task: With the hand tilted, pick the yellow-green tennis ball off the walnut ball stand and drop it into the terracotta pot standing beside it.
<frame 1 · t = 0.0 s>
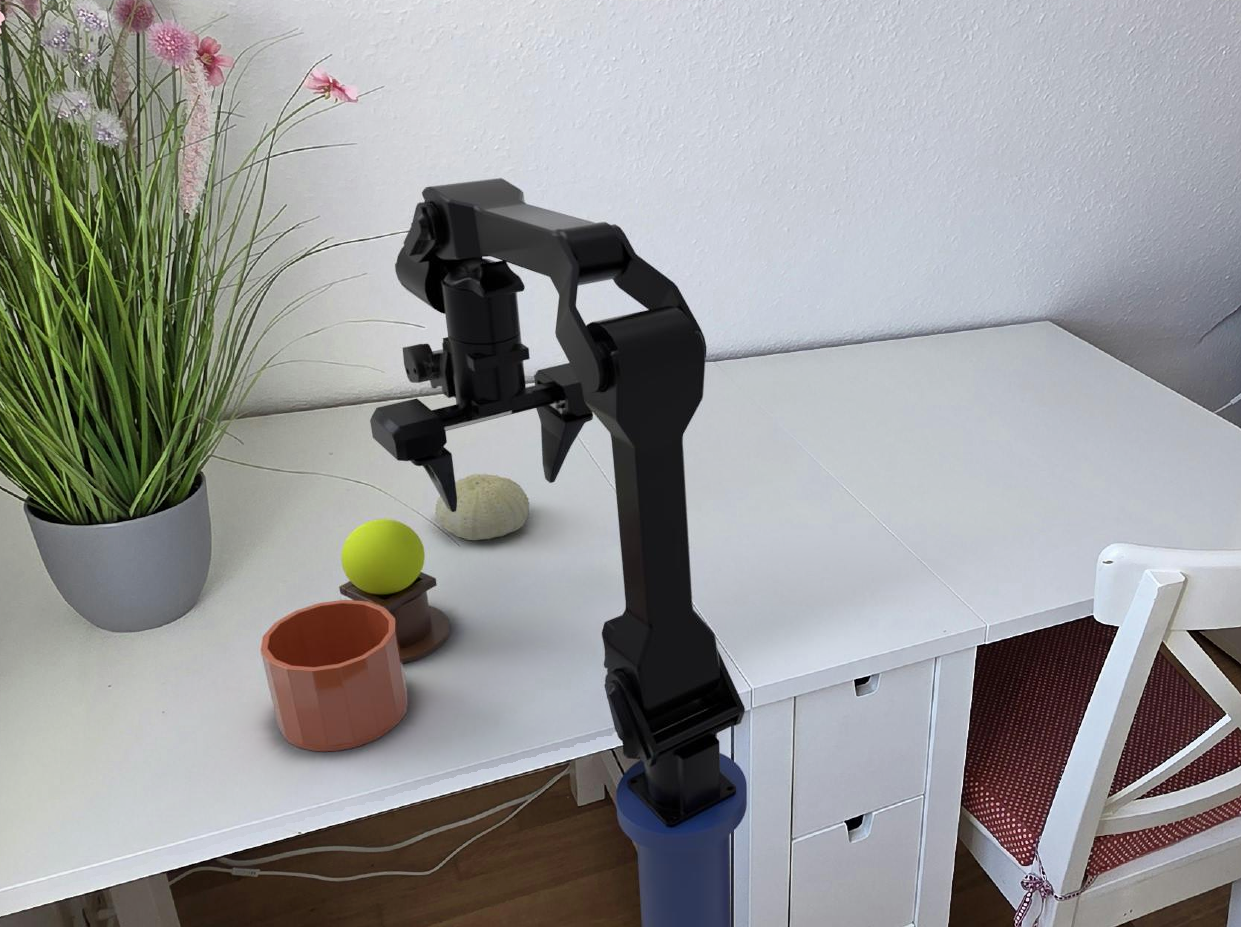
hand: (502, 495, 110), 13 cm above the table, tool pointing down, fingers open, 9 cm apart
ball stand: (396, 636, 111), on the table
tennis ball: (383, 556, 107), point 8 cm above the table, touching ball stand
terracotta pot: (345, 713, 101), on the table
sea urchin shell: (485, 525, 129), on the table
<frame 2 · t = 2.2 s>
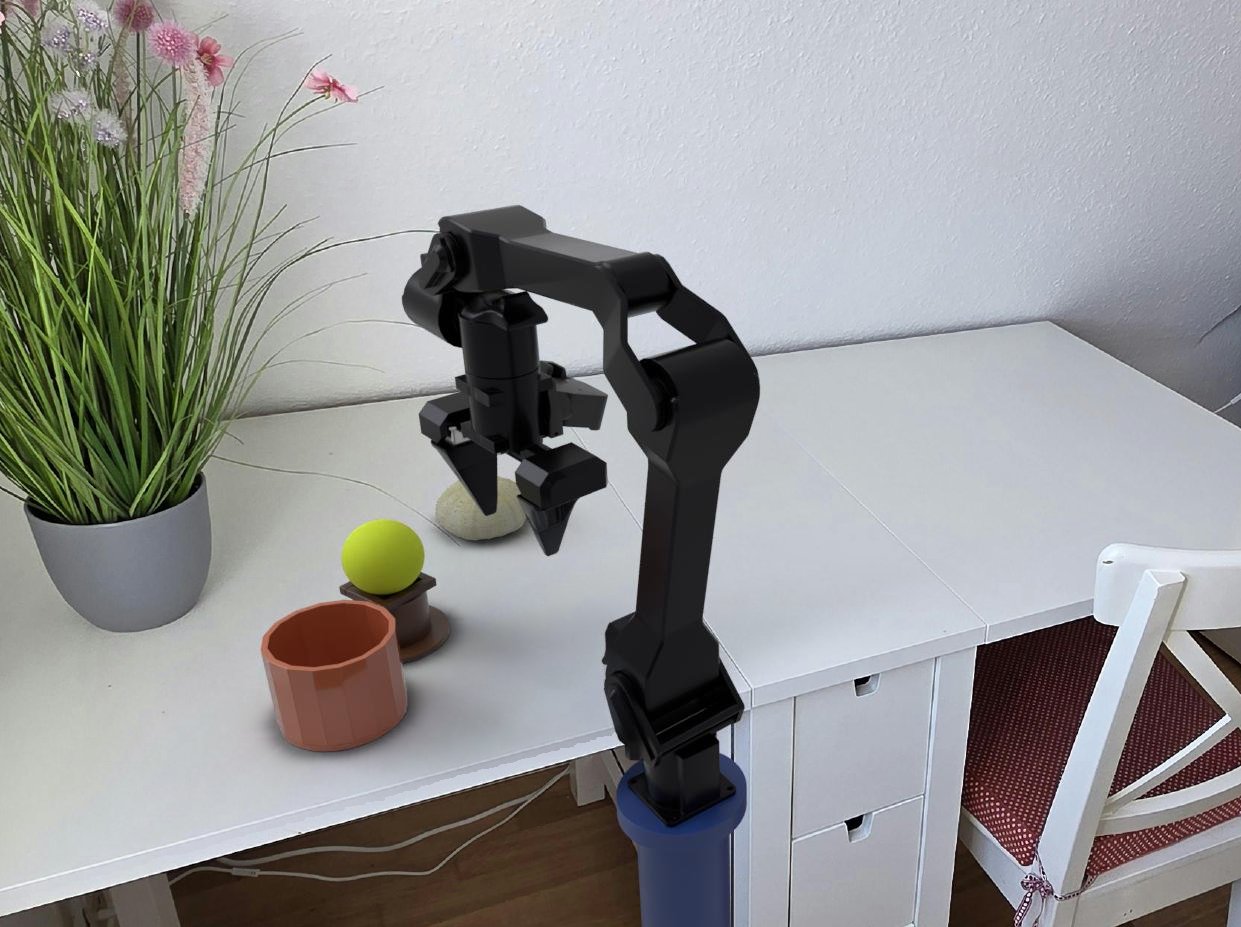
hand: (520, 533, 105), 12 cm above the table, tool pointing down, fingers open, 9 cm apart
nothing on the table moved.
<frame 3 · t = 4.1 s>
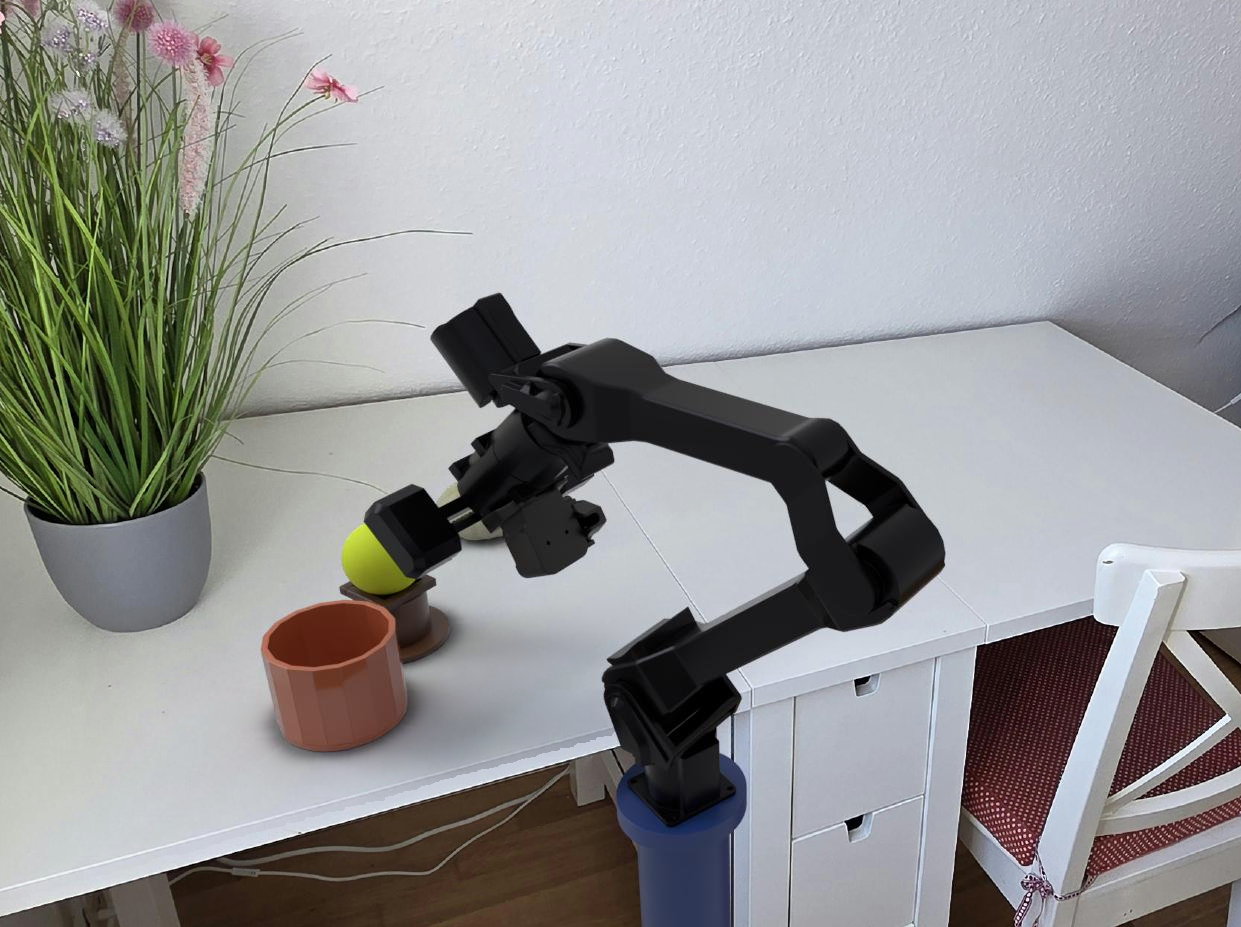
hand: (444, 536, 102), 13 cm above the table, tool tilted 45°, fingers open, 9 cm apart
nothing on the table moved.
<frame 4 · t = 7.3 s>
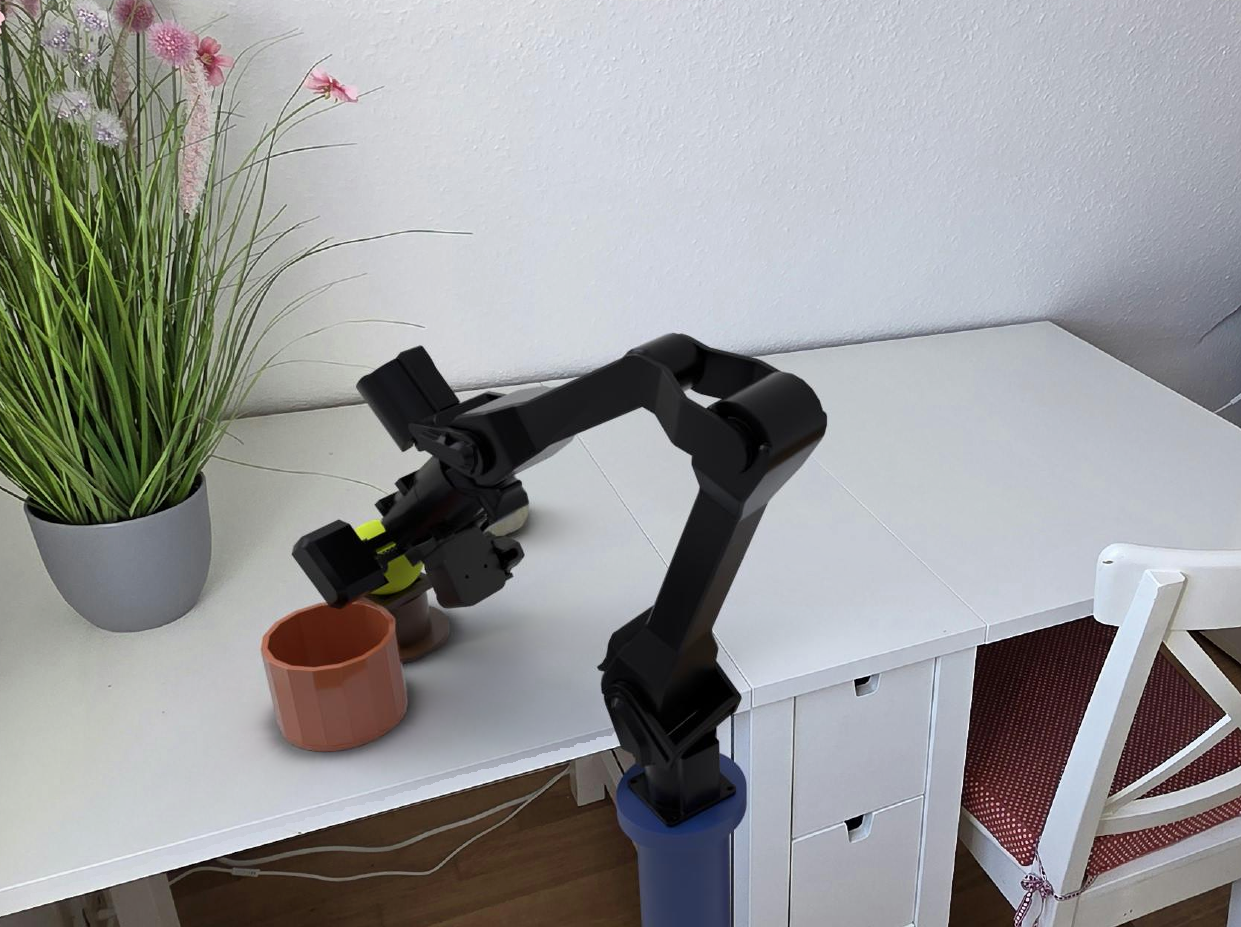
hand: (374, 564, 108), 7 cm above the table, tool tilted 45°, fingers closed on tennis ball, 6 cm apart
tennis ball: (383, 556, 107), point 8 cm above the table, touching ball stand, gripper
everything else where it was.
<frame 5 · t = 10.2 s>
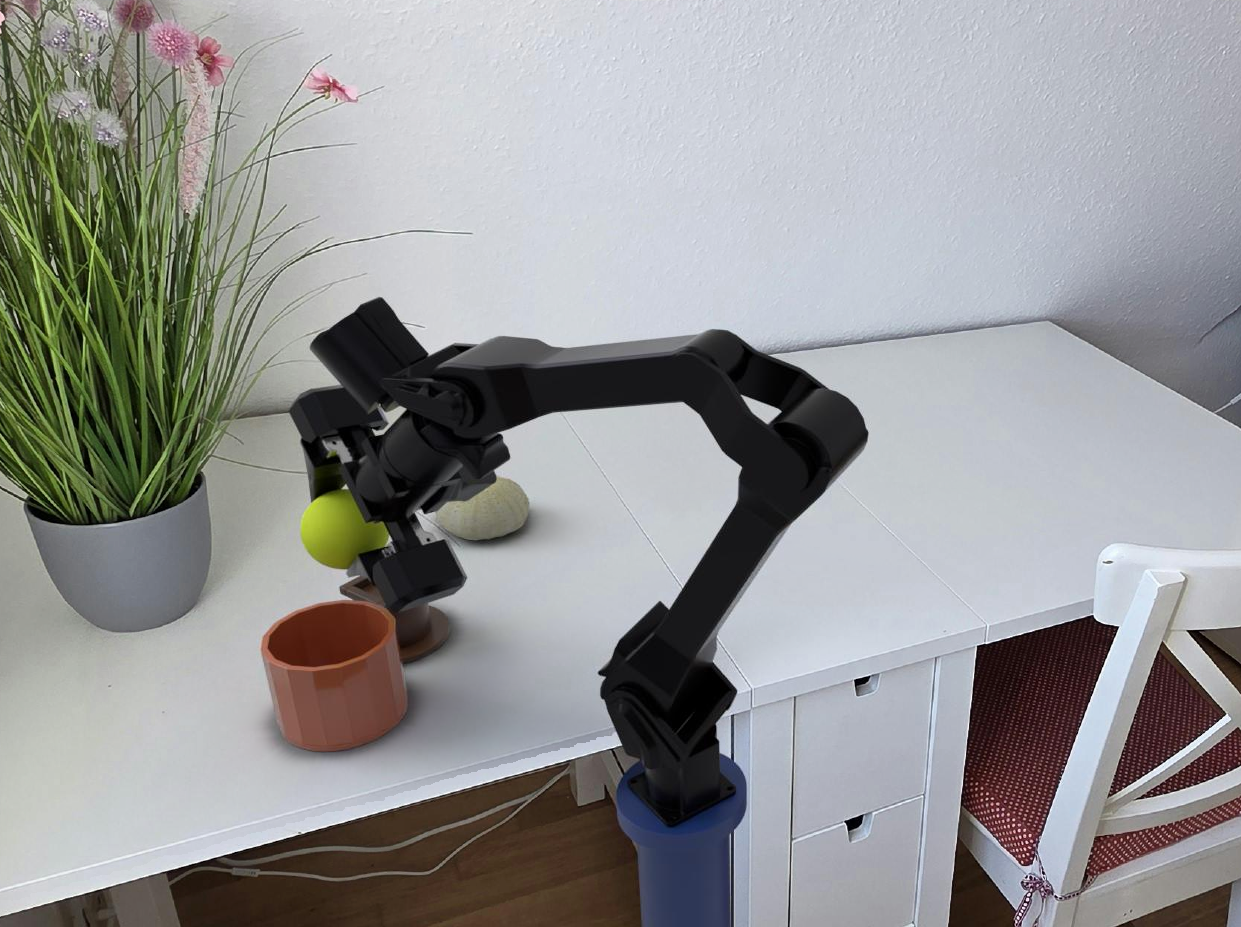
hand: (335, 539, 101), 12 cm above the table, tool tilted 45°, fingers closed on tennis ball, 6 cm apart
tennis ball: (345, 529, 100), point 14 cm above the table, tilted 52°, touching gripper
everything else where it was.
when the fingers open (9 cm above the table, at t = 13.5 s): tennis ball drops 6 cm, resting on terracotta pot.
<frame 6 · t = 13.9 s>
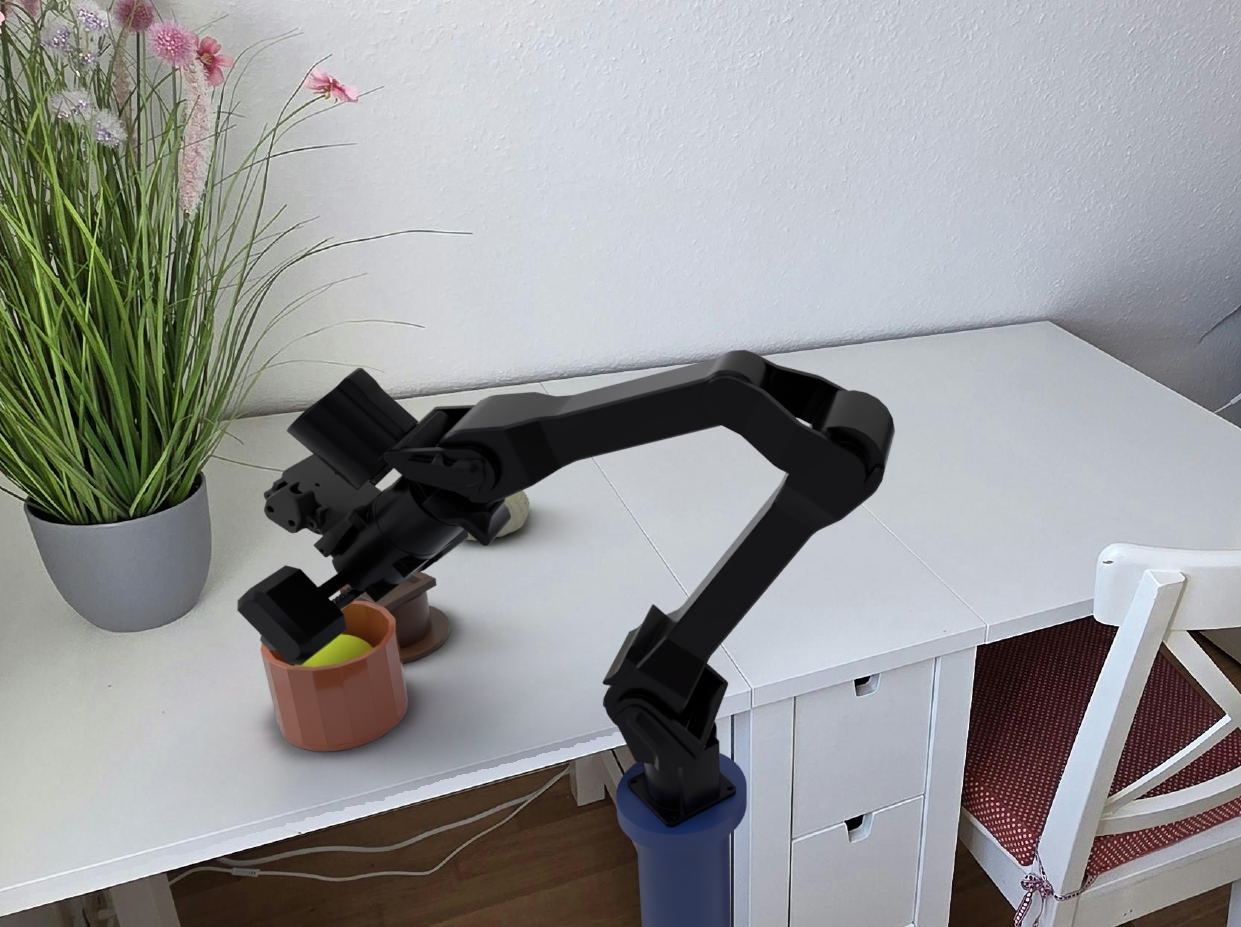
hand: (310, 612, 97), 10 cm above the table, tool tilted 45°, fingers open, 9 cm apart
tennis ball: (338, 675, 99), point 4 cm above the table, tilted 92°, touching terracotta pot
everything else where it was.
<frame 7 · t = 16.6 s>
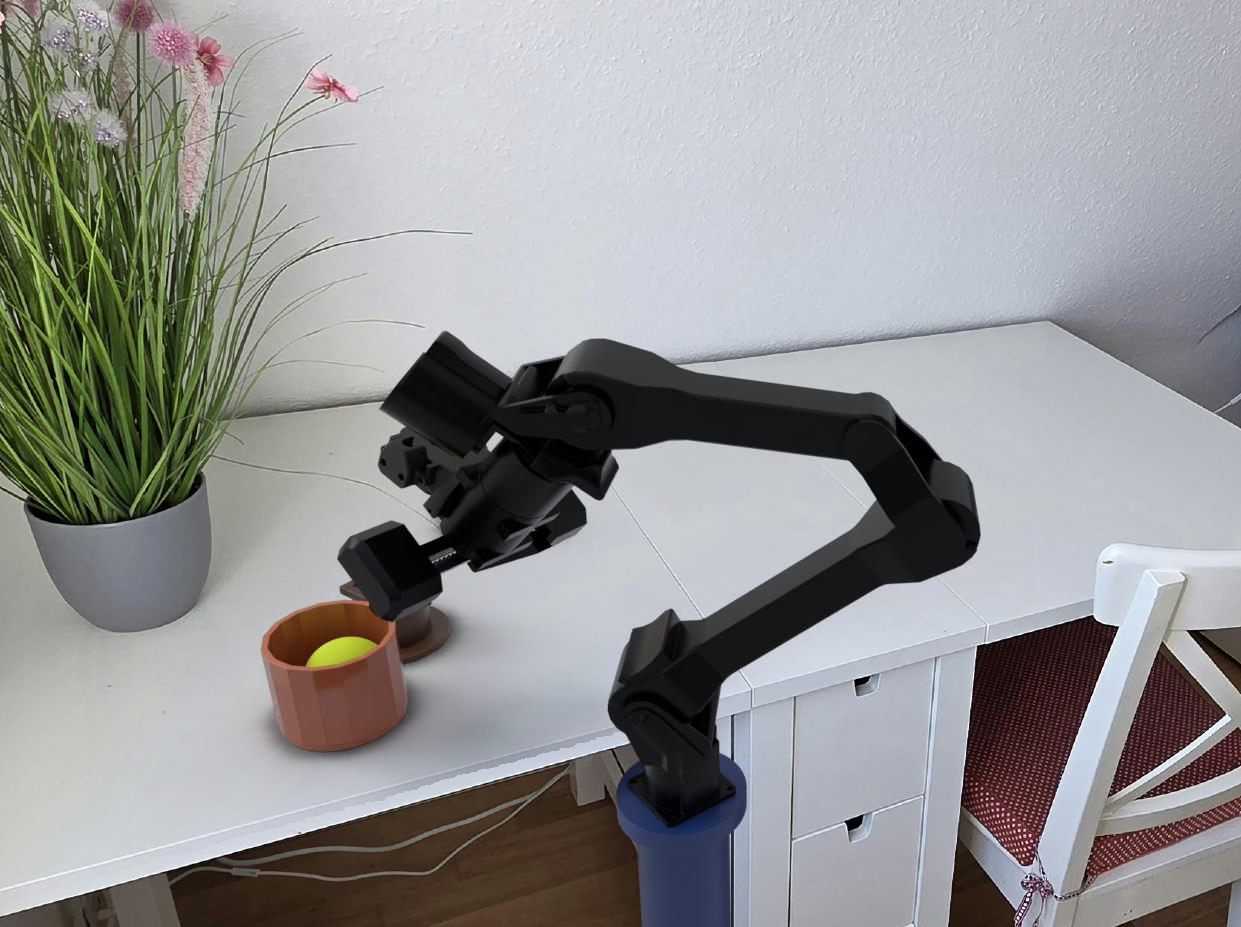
hand: (424, 588, 95), 13 cm above the table, tool tilted 40°, fingers open, 9 cm apart
tennis ball: (348, 677, 99), point 4 cm above the table, tilted 109°, touching terracotta pot
everything else where it was.
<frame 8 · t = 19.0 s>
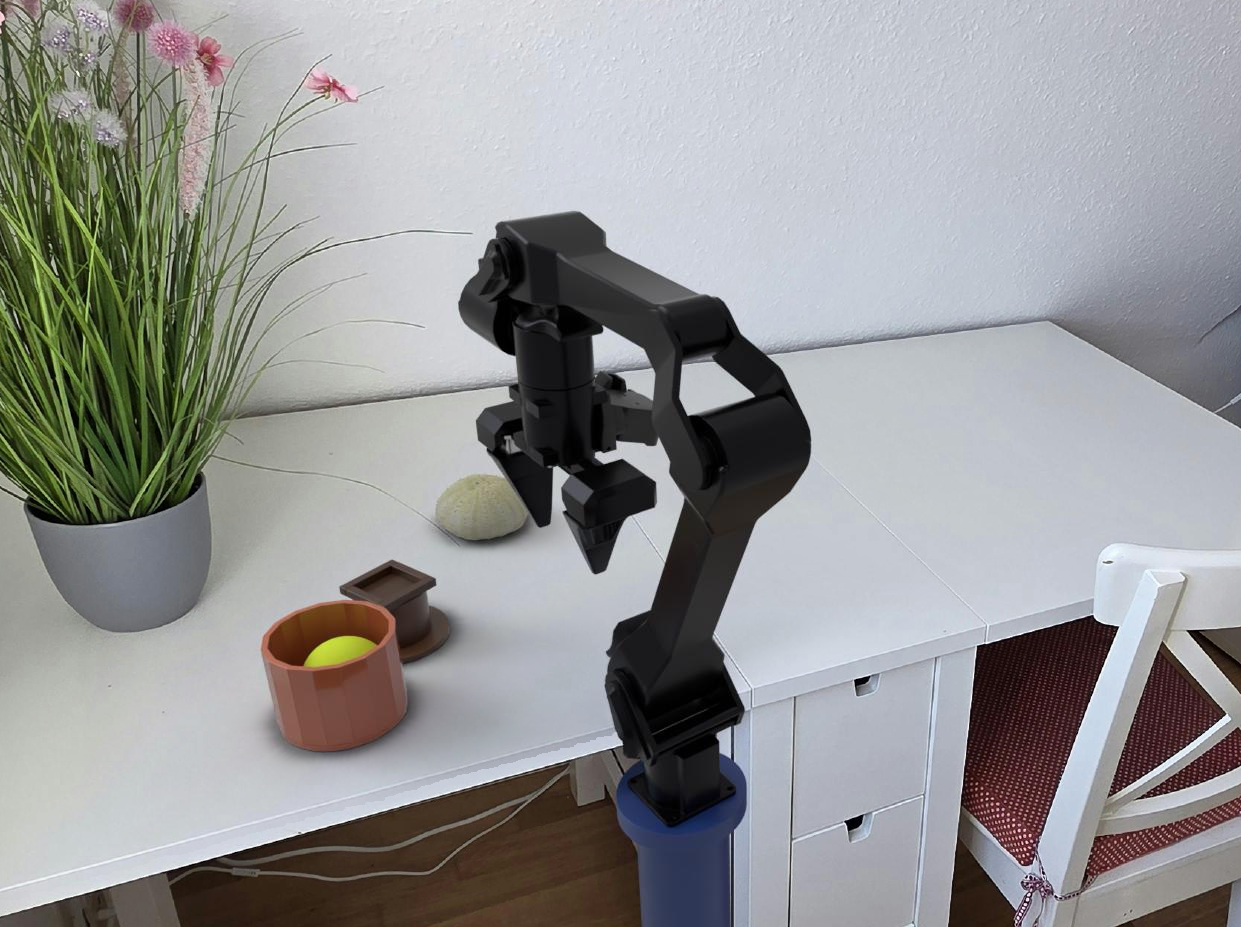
hand: (570, 548, 102), 13 cm above the table, tool pointing down, fingers open, 9 cm apart
nothing on the table moved.
at the end: tennis ball 0.8 cm off-centre in the terracotta pot, point 3.9 cm above the terracotta pot's base; the gripper is holding nothing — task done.
